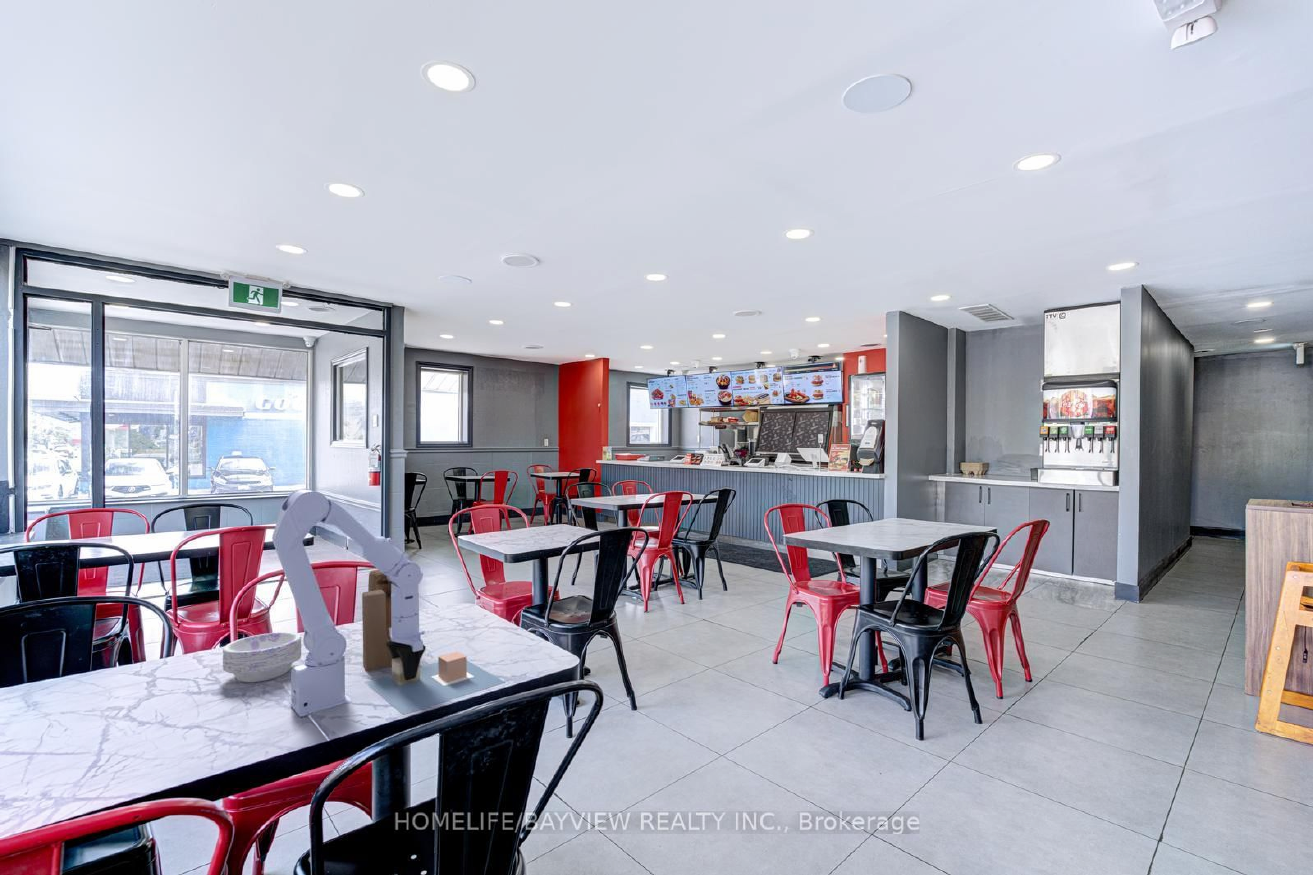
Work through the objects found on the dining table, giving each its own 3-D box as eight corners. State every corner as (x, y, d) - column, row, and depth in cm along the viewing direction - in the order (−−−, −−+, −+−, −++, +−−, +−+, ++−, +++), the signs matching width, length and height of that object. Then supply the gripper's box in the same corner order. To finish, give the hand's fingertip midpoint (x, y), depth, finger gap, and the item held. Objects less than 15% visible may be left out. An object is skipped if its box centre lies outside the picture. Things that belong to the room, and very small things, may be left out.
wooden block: (403, 659, 149) (402, 586, 148) (407, 665, 145) (406, 590, 145) (362, 668, 143) (361, 592, 143) (366, 674, 140) (364, 596, 140)
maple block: (399, 685, 131) (399, 664, 131) (392, 679, 135) (391, 659, 135) (420, 679, 135) (419, 659, 135) (412, 674, 138) (412, 654, 138)
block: (366, 645, 159) (365, 569, 159) (396, 639, 164) (395, 565, 164) (377, 657, 150) (375, 576, 150) (408, 650, 155) (407, 572, 155)
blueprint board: (403, 717, 117) (403, 714, 117) (365, 684, 134) (365, 681, 134) (505, 684, 133) (505, 681, 133) (460, 658, 149) (460, 656, 149)
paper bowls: (283, 658, 151) (282, 626, 151) (314, 671, 142) (313, 637, 142) (211, 679, 138) (210, 644, 138) (240, 694, 129) (240, 657, 129)
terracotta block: (447, 682, 133) (447, 661, 133) (438, 676, 136) (438, 656, 136) (466, 676, 136) (466, 656, 136) (457, 671, 139) (457, 651, 139)
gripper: (436, 617, 132) (437, 679, 132) (410, 604, 143) (411, 662, 143) (403, 624, 127) (404, 689, 127) (379, 610, 138) (380, 670, 138)
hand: (406, 675), depth 135 cm, fingers closed on maple block, 4 cm apart
